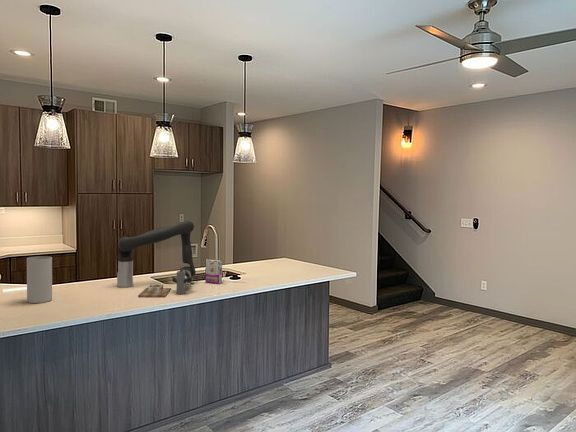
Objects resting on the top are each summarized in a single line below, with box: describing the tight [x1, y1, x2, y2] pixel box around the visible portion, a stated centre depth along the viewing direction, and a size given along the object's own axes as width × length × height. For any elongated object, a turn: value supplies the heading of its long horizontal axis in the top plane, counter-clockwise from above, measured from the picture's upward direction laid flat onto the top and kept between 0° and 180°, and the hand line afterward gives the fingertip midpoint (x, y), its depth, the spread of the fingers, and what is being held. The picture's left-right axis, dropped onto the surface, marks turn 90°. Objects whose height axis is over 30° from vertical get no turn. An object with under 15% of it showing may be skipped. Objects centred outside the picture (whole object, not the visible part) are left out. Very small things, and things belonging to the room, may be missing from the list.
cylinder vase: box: [26, 255, 53, 304], centre depth 244 cm, size 12×12×25 cm
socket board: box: [137, 284, 172, 298], centre depth 269 cm, size 16×20×5 cm
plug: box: [175, 266, 186, 295], centre depth 270 cm, size 5×5×17 cm
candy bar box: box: [205, 259, 223, 285], centre depth 303 cm, size 11×5×16 cm, turn 70°
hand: (180, 281), depth 267 cm, fingers closed on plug, 4 cm apart
